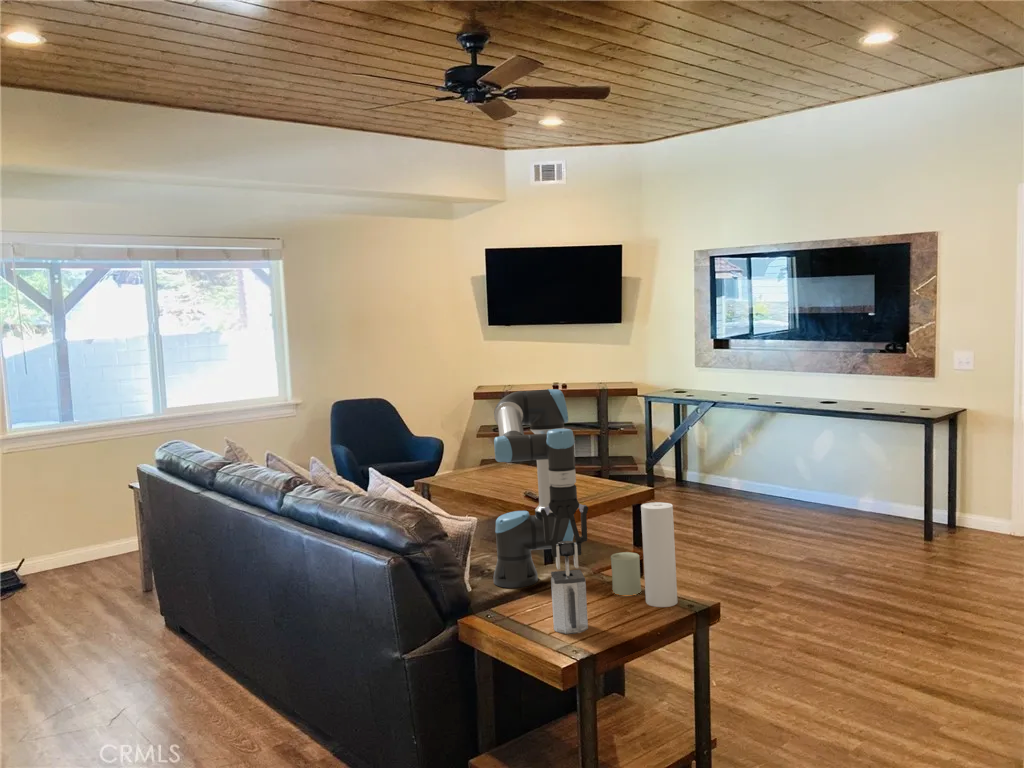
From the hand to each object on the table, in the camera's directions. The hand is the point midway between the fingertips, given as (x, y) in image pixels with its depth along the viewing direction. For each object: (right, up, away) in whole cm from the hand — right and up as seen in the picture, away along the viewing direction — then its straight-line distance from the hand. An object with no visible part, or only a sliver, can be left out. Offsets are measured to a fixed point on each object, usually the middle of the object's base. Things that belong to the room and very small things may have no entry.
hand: (567, 567), depth 214 cm
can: (+21, -15, +29) cm, 39 cm away
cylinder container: (+30, -15, +18) cm, 38 cm away
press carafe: (+1, -17, -1) cm, 17 cm away
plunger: (+1, -13, +1) cm, 13 cm away
